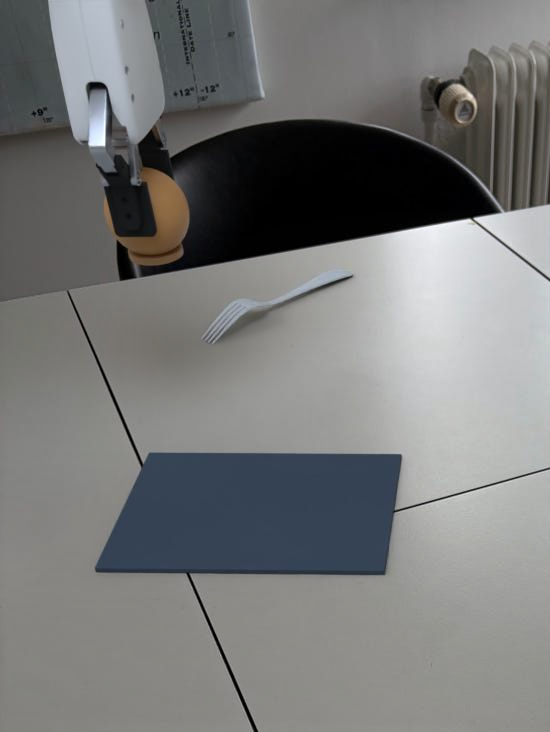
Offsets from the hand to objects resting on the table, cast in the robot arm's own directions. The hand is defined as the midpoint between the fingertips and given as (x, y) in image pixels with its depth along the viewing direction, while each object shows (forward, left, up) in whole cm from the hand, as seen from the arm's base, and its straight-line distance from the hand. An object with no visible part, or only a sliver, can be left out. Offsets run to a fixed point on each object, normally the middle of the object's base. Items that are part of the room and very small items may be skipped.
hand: (147, 215), depth 84 cm
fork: (+5, +22, -18) cm, 29 cm away
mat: (+9, -16, -18) cm, 25 cm away
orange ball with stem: (0, 0, -3) cm, 3 cm away
